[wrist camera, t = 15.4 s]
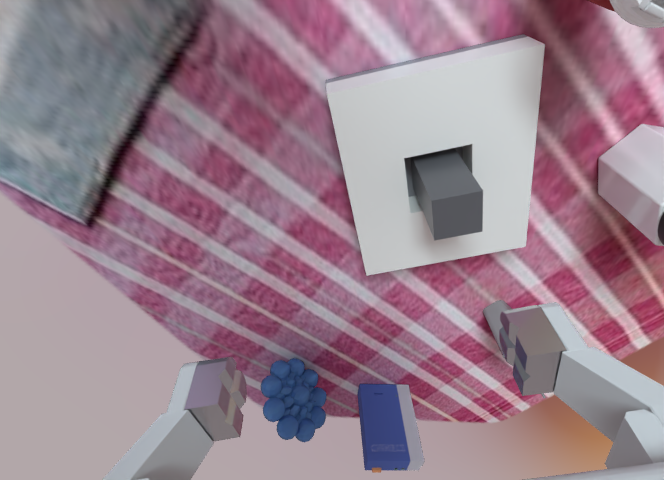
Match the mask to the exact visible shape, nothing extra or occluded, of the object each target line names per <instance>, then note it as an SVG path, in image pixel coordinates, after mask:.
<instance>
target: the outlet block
mask: <svg viewBox="0 0 664 480" xmlns="http://www.w3.org/2000/svg"><path fill="white" fill-rule="evenodd" d="M544 49H545V44H544V43H541V42H539V41H537V40H535V39H533V38H530V37H528V36H526V35H524V34H522V35H518V36H513V37H509V38H505V39H500V40H496V41H492V42H487V43H483V44H479V45H475V46H470V47H466V48H462V49H457V50H453V51H449V52H444V53H440V54H436V55H432V56H427V57H423V58H419V59H414V60H410V61H406V62H401V63H397V64H393V65H389V66H384V67H380V68H376V69H371V70H367V71H363V72H358V73H354V74H350V75H346V76H341V77H337V78H333V79H328V80H326V90H327V97H328V102H329V106H330V111H331V116H332V120H333V125H334V129H335V134H336V138H337V143H338V148H339V152H340V157H341V161H342V166H343V171H344V175H345V180H346V184H347V189H348V193H349V198H350V203H351V207H352V212H353V216H354V221H355V226H356V230H357V235H358V239H359V244H360V248H361V253H362V258H363V262H364V267H365V271H366V276H368V275H373V274H378V273H384V272H389V271H395V270H400V269H406V268H411V267H417V266H422V265H428V264H433V263H439V262H444V261H450V260H455V259H461V258H466V257H472V256H477V255H483V254H488V253H493V252H499V251H504V250H510V249H515V248H521V247H526V238H527V227H528V217H529V206H530V196H531V185H532V175H533V164H534V154H535V144H536V133H537V123H538V112H539V102H540V91H541V81H542V70H543V60H544ZM451 148H455V149H456V151H457V152H458V154H459V155H460V157H461V158H462V160H463V161H464V163H465V164H466V166H467V167H468V169H469V170H470V172H471V173H472V175H473V176H474V178H475V179H476V181H477V182H478V184H479V185H480V187H481V188H482V190H483V230H482V232H477V233H472V234H467V235H461V236H456V237H451V238H445V239H440V240H435V241H434V238H433V236H432V233H431V231H430V228H429V226H428V223H427V221H426V218H425V216H424V213H423V211H422V208H421V206H420V203H419V201H418V198H417V196H416V193H415V191H414V188H413V180H412V170H411V160H410V157H413V156H418V155H423V154H427V153H432V152H437V151H442V150H446V149H451Z"/></svg>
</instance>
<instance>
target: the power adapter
mask: <svg viewBox="0 0 664 480" xmlns="http://www.w3.org/2000/svg"><path fill="white" fill-rule="evenodd" d="M506 310H512V309H511V308H510V307H509V306H508V305H507V304H506V303H505V302H504V301H502V300H500V301H496V302H495V303H493V304H491V305H489V306H488V307H486V308H485V309H484V310H483V313H484V315H485V317H486V320H487V322H488V324H489V326H490V328H491V331H492V333H493V335H494V337H495V340H496V342H497V344H498V346H499V348H500V351H501V353H502V355H503V357H504V354H503V351H502V349H501V344H500V339H499V330H500V329H501V328H502V327H503V325H502V323H501V321H500V314H501V312H502V311H506ZM504 358H505V357H504ZM541 394H542V396H543V398H546V397H545V395H544V393H541Z"/></svg>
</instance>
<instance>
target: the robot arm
mask: <svg viewBox="0 0 664 480" xmlns="http://www.w3.org/2000/svg"><path fill="white" fill-rule="evenodd" d="M500 321H501V323H502V325H503V327H502V328H501V329H500V330H499V339H500V344H501V349H502V351H503V354H504V357H505V359H506V361H507V362H508V363H509V364H511V365H512V366H513V377H514V379H515V381H516V383H517V385H518V387H519V390H520V392H521V394H522V396H524V395H532V394H541V393H549V392H554V394H555V395H556V396H558V397H559V398H560V399H561V400H562V401H563V402H565V403H566V404H567V405H568V406H570V407H571V408H572V409H573V410H575V411H576V412H577V413H578V414H579V415H581V416H582V417H583V418H584V419H586V420H587V421H588V422H589V423H590V424H592V425H593V426H594V427H595V428H597V429H598V430H599V431H600V432H602V433H603V434H604V435H605V436H607V437H608V438H609V439H610V440H611V441H613V442H614V443H613V445H612V448H611V450H610V453H609V455H608V457H607V460H606V462H605V465H606V467H607V469H604V470H596V471H588V472H581V473H572V474H564V475H556V476H548V477H540V478H532V479H524V480H664V386H662V385H661V384H659V383H657V382H655V381H653V380H652V379H650V378H648V377H647V376H645V375H643V374H641V373H639V372H638V371H636V370H634V369H632V368H631V367H629V366H627V365H625V364H624V363H622V362H620V361H618V360H617V359H615V358H613V357H611V356H609V355H608V354H606V353H604V352H602V351H601V350H599V349H597V348H595V347H590V348H589V347H588V346H587V344H586V343H585V341H584V340H583V338H582V337H581V335H580V334H579V333H578V331H577V330H576V328H575V327H574V325H573V324H572V322H571V321H570V319H569V318H568V316H567V315H566V313H565V312H564V310H563V309H562V308H561V306H560V305H559V304H558V303H556V302H554V303H548V304H542V305H537V306H536V305H534V306H528V307H523V308H517V309H512V310H506V311H502V312H501V314H500ZM236 364H237V363H236V362H235V360H234V359H233V357H227V358H220V359H213V360H206V361H199V362H193V363H186V364H184V365H183V366H182V367H181V369H180V372H179V375H178V378H177V381H176V384H175V387H174V390H173V394H172V397H171V400H170V403H169V407H168V409H167V413H163V414H161V415H160V416H159V418H158V419H157V420H156V421H155V422H154V423H153V424H152V426H150V428H149V429H148V430H147V431H146V432H145V433H144V434H143V435H142V436H141V437H140V439H139V440H138V441H137V442H136V443H135V444H134V445H133V446H132V447H131V448H130V450H129V451H128V452H127V453H126V454H125V455H124V456H123V457H122V458H121V459H120V461H119V462H118V463H117V464H116V465H115V466H114V467H113V468H112V470H111V471H110V472H109V473H108V474H107V475H106V476H105V477H104V478H103V479H102V480H191V478H192V476H193V475H194V473H195V472H196V470H197V469H198V467H199V465H200V464H201V462H202V461H203V459H204V458H205V456H206V455H207V453H208V452H209V450H210V448H211V447H212V445H213V444H214V442H213V441H219V440H225V439H230V438H236V437H240V435H241V429H242V422H243V414H242V413H241V411H240V408H241V407H242V406H243V405H244V403H245V402H246V395H247V389H246V381H245V378H244V375H243V374H242V372H241V371H239V370H237V369H236Z"/></svg>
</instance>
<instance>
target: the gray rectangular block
mask: <svg viewBox="0 0 664 480" xmlns="http://www.w3.org/2000/svg"><path fill="white" fill-rule="evenodd" d="M410 160H411V170H412V180H413V188H414V191H415V193H416V196H417V198H418V201H419V203H420V206H421V208H422V211H423V213H424V216H425V218H426V221H427V223H428V226H429V228H430V231H431V233H432V236H433V238H434V241H435V240H440V239H445V238H451V237H456V236H461V235H467V234H472V233H477V232H482V230H483V190H482V188H481V187H480V185H479V184H478V182H477V181H476V179H475V178H474V176H473V175H472V173H471V172H470V170H469V169H468V167H467V166H466V164H465V163H464V161H463V160H462V158H461V157H460V155H459V154H458V152H457V151H456V149H455V148H451V149H446V150H442V151H437V152H432V153H427V154H423V155H418V156H413V157H410Z"/></svg>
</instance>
